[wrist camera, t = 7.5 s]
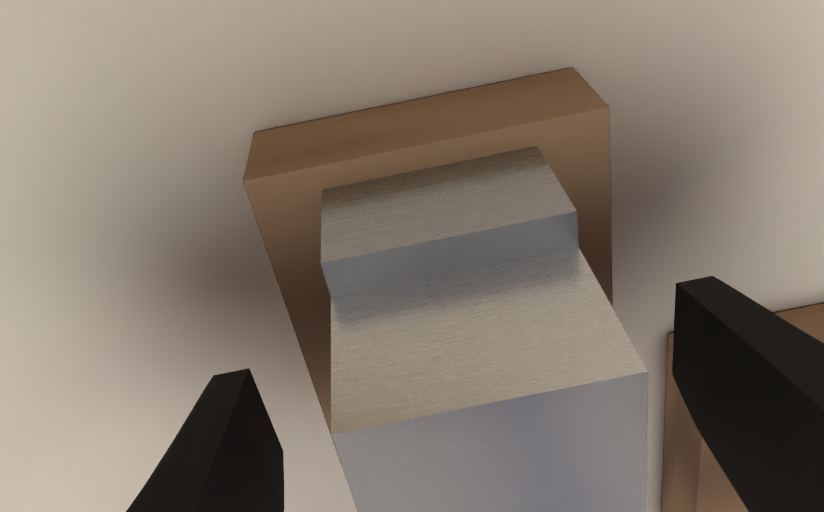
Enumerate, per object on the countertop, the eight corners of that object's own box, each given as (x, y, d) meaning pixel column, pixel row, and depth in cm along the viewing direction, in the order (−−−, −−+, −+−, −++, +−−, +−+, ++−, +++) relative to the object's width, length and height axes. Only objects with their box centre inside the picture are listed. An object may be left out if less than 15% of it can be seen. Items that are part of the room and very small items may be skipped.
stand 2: (862, 474, 20) (910, 534, 19) (661, 514, 21) (690, 577, 19) (916, 284, 17) (982, 338, 15) (668, 333, 17) (705, 392, 15)
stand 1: (585, 350, 17) (614, 411, 15) (339, 399, 17) (341, 465, 15) (572, 67, 13) (608, 107, 11) (254, 132, 13) (242, 180, 11)
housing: (558, 403, 15) (643, 627, 11) (391, 436, 15) (413, 671, 11) (537, 145, 11) (649, 330, 7) (321, 189, 11) (317, 397, 7)
